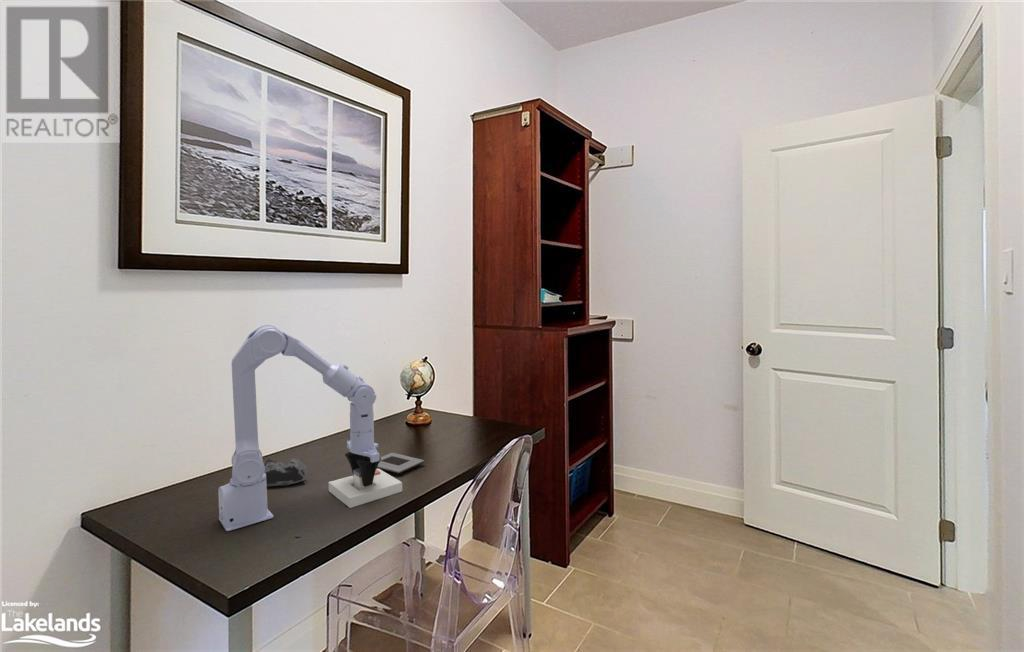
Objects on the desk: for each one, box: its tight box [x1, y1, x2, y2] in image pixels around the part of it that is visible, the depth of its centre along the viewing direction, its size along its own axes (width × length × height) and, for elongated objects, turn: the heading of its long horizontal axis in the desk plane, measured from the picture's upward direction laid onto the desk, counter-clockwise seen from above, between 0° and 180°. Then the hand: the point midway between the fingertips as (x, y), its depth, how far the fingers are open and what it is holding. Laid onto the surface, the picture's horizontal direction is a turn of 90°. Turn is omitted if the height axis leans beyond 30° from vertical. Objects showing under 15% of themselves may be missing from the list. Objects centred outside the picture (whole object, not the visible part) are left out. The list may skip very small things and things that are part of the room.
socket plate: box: [328, 468, 403, 509], centre depth 124 cm, size 14×13×3 cm
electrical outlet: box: [376, 452, 425, 475], centre depth 140 cm, size 13×10×2 cm
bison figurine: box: [264, 458, 308, 487], centre depth 130 cm, size 12×7×10 cm
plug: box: [352, 468, 373, 490], centre depth 122 cm, size 4×4×6 cm
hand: (363, 482), depth 122 cm, fingers open, 5 cm apart
